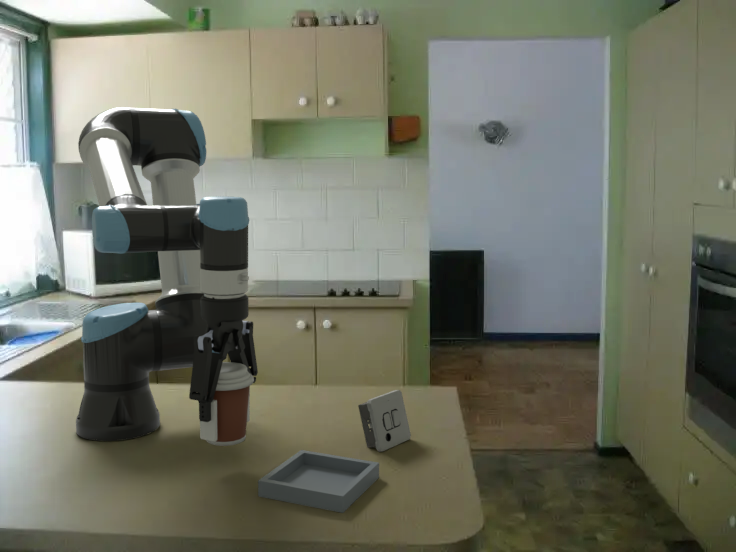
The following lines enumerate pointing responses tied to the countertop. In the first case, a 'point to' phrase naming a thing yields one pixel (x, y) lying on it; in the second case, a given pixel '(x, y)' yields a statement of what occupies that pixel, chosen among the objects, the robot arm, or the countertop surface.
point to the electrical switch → (385, 421)
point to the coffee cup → (232, 403)
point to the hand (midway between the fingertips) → (225, 429)
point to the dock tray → (319, 480)
